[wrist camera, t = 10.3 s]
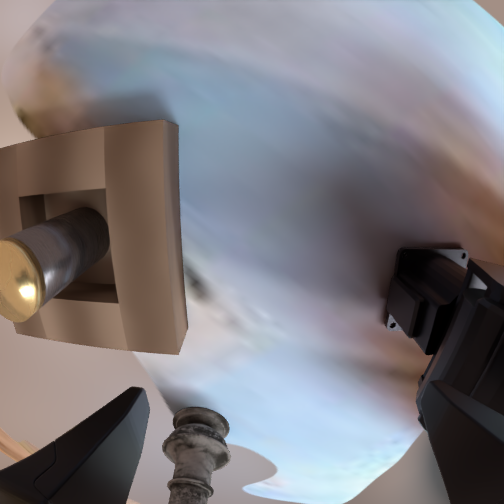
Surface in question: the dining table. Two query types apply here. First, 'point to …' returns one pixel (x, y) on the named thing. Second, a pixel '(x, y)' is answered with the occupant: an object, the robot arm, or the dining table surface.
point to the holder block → (120, 232)
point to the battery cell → (48, 259)
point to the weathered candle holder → (196, 453)
